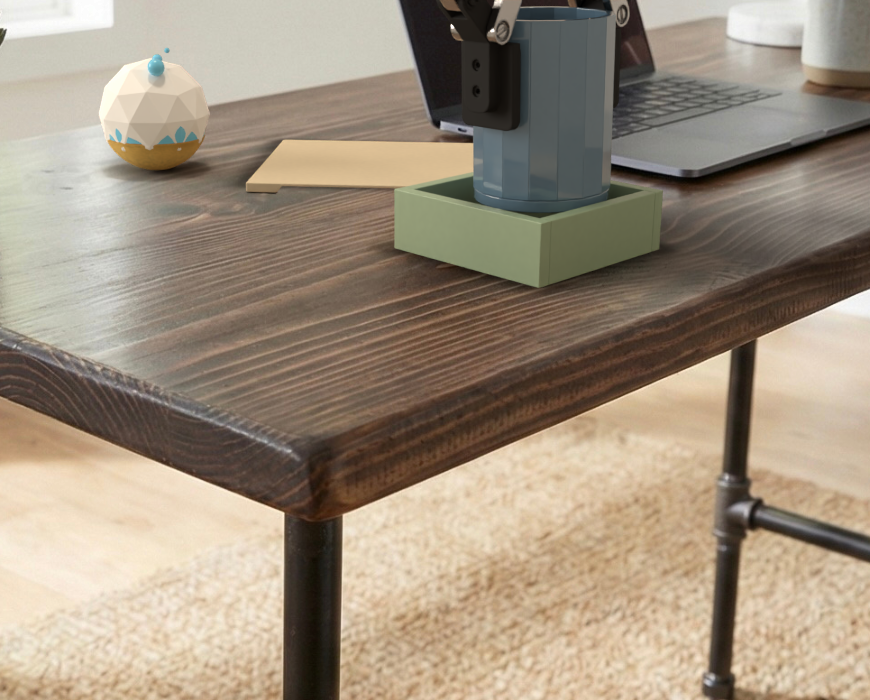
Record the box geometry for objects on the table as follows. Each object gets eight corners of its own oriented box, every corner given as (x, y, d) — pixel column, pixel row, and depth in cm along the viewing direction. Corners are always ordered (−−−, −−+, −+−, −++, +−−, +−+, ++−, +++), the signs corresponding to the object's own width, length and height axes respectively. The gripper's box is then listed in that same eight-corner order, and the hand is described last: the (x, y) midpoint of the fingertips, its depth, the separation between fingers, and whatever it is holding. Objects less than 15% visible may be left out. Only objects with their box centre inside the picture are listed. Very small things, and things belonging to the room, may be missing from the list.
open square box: (516, 223, 73) (518, 161, 72) (658, 257, 67) (663, 190, 65) (394, 256, 66) (393, 188, 65) (538, 296, 60) (541, 223, 59)
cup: (604, 181, 68) (609, 5, 65) (614, 213, 62) (620, 20, 59) (475, 181, 69) (474, 6, 66) (471, 213, 63) (471, 21, 59)
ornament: (84, 167, 86) (73, 44, 83) (180, 154, 90) (173, 36, 87) (133, 185, 81) (123, 55, 78) (232, 170, 85) (226, 46, 82)
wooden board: (479, 151, 92) (480, 143, 92) (474, 196, 79) (474, 187, 79) (283, 147, 93) (283, 139, 92) (246, 192, 79) (245, 182, 79)
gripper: (479, -308, 50) (480, 153, 56) (727, -278, 61) (705, 101, 67) (347, -290, 55) (361, 132, 61) (600, -265, 66) (590, 87, 72)
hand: (542, 113), depth 64 cm, fingers closed on cup, 6 cm apart
